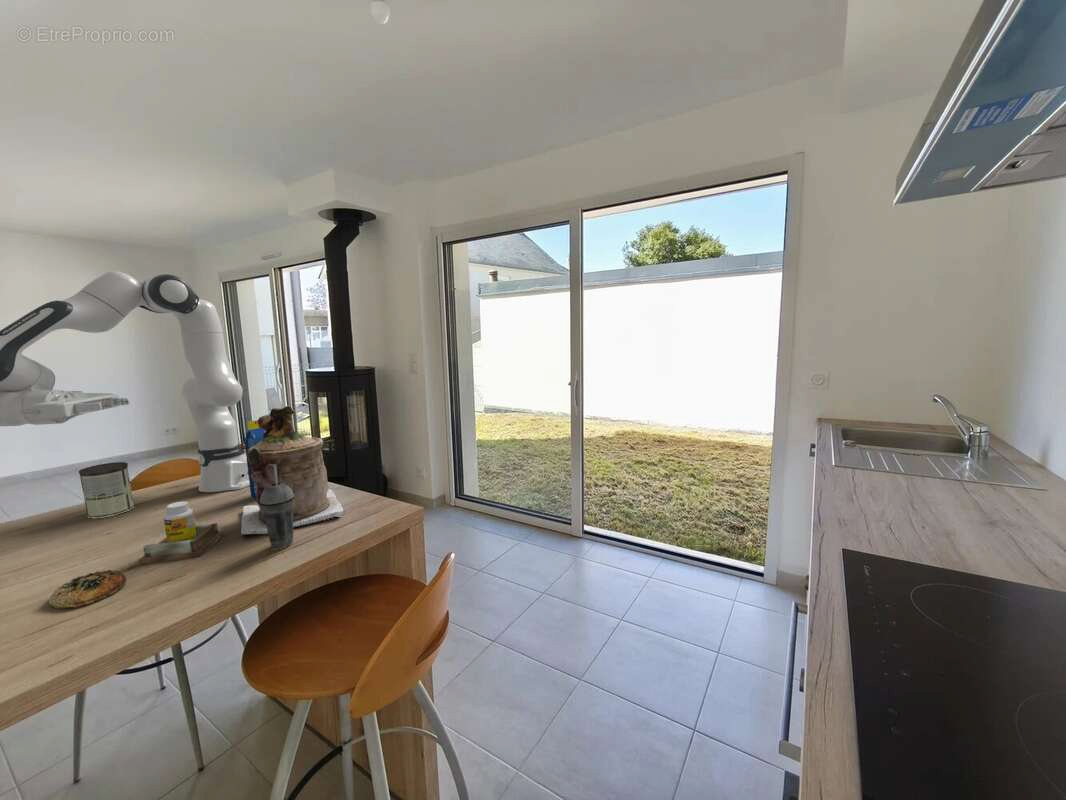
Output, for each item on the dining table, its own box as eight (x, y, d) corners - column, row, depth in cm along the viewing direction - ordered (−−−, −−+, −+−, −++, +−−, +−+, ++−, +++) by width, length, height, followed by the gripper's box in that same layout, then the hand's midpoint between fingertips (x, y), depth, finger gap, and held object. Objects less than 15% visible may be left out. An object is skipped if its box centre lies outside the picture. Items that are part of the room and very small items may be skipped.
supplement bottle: (161, 550, 101) (155, 509, 100) (180, 539, 107) (174, 500, 106) (186, 549, 102) (180, 508, 100) (203, 538, 107) (197, 499, 106)
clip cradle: (139, 563, 97) (136, 549, 97) (170, 540, 109) (168, 527, 109) (199, 556, 100) (197, 542, 100) (223, 534, 112) (222, 521, 111)
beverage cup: (260, 554, 100) (250, 471, 98) (270, 540, 107) (261, 463, 105) (295, 549, 102) (286, 468, 100) (302, 536, 109) (294, 460, 107)
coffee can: (80, 516, 127) (72, 469, 125) (125, 503, 136) (118, 460, 134) (96, 522, 122) (87, 474, 120) (141, 508, 131) (134, 464, 129)
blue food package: (298, 488, 147) (290, 416, 143) (262, 500, 136) (253, 422, 133) (286, 485, 149) (279, 414, 146) (250, 497, 139) (241, 421, 135)
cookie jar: (333, 493, 141) (324, 396, 137) (346, 518, 120) (336, 405, 116) (243, 510, 128) (229, 404, 124) (240, 542, 107) (224, 416, 103)
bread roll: (138, 573, 93) (132, 553, 92) (110, 609, 83) (102, 587, 82) (73, 586, 90) (65, 566, 88) (35, 625, 80) (25, 603, 78)
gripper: (11, 400, 101) (82, 396, 104) (80, 390, 121) (138, 388, 124) (17, 426, 102) (87, 422, 105) (84, 412, 121) (141, 409, 125)
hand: (115, 403), depth 114 cm, fingers open, 8 cm apart
